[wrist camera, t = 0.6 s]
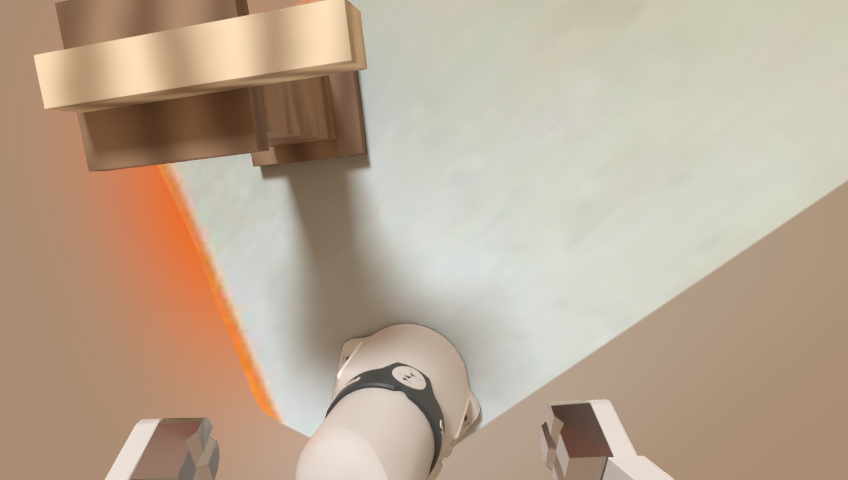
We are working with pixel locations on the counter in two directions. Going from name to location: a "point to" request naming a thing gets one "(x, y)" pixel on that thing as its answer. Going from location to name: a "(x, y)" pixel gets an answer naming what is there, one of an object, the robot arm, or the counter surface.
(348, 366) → the robot arm
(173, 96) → the maple bar
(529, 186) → the counter surface
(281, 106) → the walnut pedestal
